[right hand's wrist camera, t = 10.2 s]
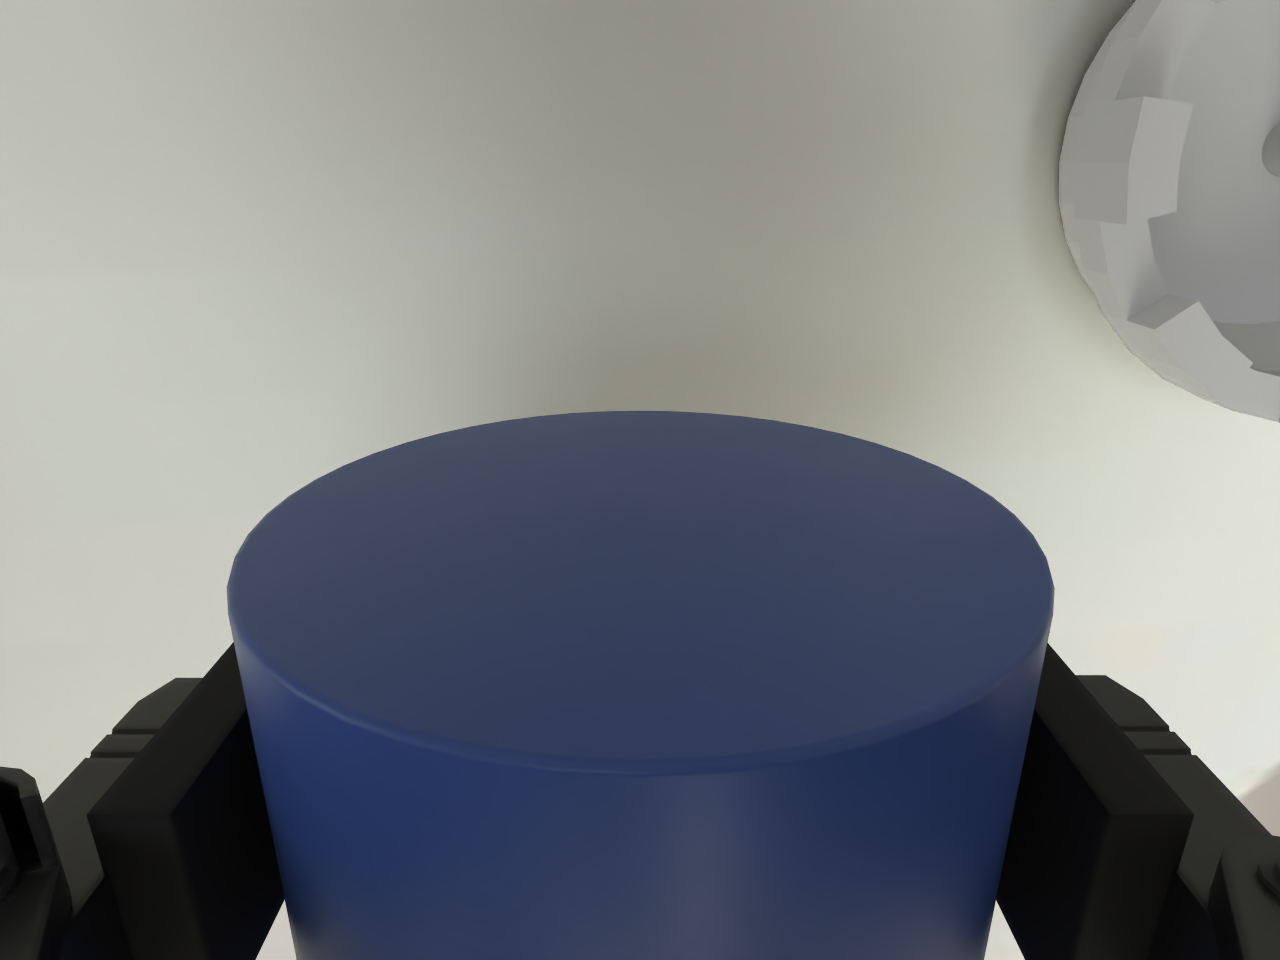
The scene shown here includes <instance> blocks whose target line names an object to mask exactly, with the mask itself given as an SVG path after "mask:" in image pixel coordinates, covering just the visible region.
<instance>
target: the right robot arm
mask: <svg viewBox="0 0 1280 960" xmlns="http://www.w3.org/2000/svg"><path fill="white" fill-rule="evenodd" d="M284 900H285V897H284V892H283V887H282V882H281V877H280V872H279V867H278V862H277V857H276V852H275V847H274V842H273V837H272V832H271V827H270V822H269V817H268V812H267V806H266V801H265V796H264V791H263V786H262V781H261V776H260V771H259V766H258V761H257V756H256V751H255V746H254V741H253V736H252V731H251V726H250V721H249V716H248V711H247V706H246V700H245V695H244V690H243V685H242V680H241V675H240V670H239V665H238V660H237V655H236V650H235V645H234V642H233V643H232V645H231V646H230V647H229V648H228V649H227V650H226V652H225V653H224V654H223V655H222V656H221V657H220V659H219V660H218V661H217V662H216V663H215V664H214V666H213V667H212V668H211V669H210V670H209V672H208V673H207V674H206V675H205V676H204V677H203V678H175V679H173V680H172V681H170V682H169V683H167V684H165V685H164V686H162V687H161V688H159V689H157V690H156V691H154V692H153V693H151V694H149V695H148V696H146V697H145V698H143V699H141V700H140V701H138V702H137V703H136V704H135V705H134V707H133V708H132V709H131V710H130V711H129V712H128V713H127V714H126V715H125V716H124V717H123V718H122V719H121V720H120V721H119V723H118V724H117V725H116V726H115V727H114V728H113V729H112V734H111V735H106V736H105V738H104V739H103V740H102V741H101V742H100V743H99V744H98V745H97V746H96V747H95V748H94V749H93V750H92V751H91V756H90V758H85V759H84V760H83V761H82V762H81V763H80V764H79V765H78V766H77V767H76V768H75V770H74V771H73V772H72V773H71V774H70V775H69V776H68V777H67V778H66V779H65V780H64V781H63V782H62V783H61V784H60V786H59V787H58V788H57V789H56V790H55V791H54V792H53V793H52V794H51V795H50V796H49V797H48V798H47V799H46V801H45V802H44V803H42V800H41V796H40V793H39V790H38V787H37V784H36V781H35V778H33V777H32V776H30V775H29V774H27V773H26V772H25V771H23V770H22V769H16V768H7V767H0V960H255V959H256V957H257V955H258V953H259V951H260V949H261V947H262V945H263V943H264V941H265V939H266V937H267V935H268V933H269V931H270V928H271V926H272V924H273V922H274V920H275V918H276V916H277V914H278V912H279V910H280V908H281V906H282V904H283V902H284ZM996 900H997V903H998V905H999V907H1000V909H1001V911H1002V913H1003V915H1004V917H1005V919H1006V921H1007V923H1008V925H1009V927H1010V929H1011V931H1012V933H1013V936H1014V938H1015V940H1016V942H1017V944H1018V946H1019V948H1020V950H1021V952H1022V954H1023V956H1024V958H1025V960H1280V837H1278V836H1272V835H1271V834H1270V833H1269V832H1268V831H1267V830H1266V829H1265V828H1264V827H1263V825H1262V824H1261V823H1260V822H1259V821H1258V820H1257V819H1256V818H1255V817H1254V816H1253V815H1252V814H1251V813H1250V812H1249V811H1248V810H1247V808H1246V807H1245V806H1244V805H1243V804H1242V803H1241V802H1240V801H1239V800H1238V799H1237V798H1236V797H1235V796H1234V795H1233V794H1232V793H1231V791H1230V790H1229V789H1228V788H1227V787H1226V786H1225V785H1224V784H1223V783H1222V782H1221V781H1220V780H1219V779H1218V778H1217V777H1216V776H1215V775H1214V773H1213V772H1212V771H1211V770H1210V769H1209V768H1208V767H1207V766H1206V765H1205V764H1204V763H1203V762H1202V761H1201V760H1200V759H1199V758H1198V756H1197V755H1192V754H1191V749H1190V748H1189V747H1188V746H1187V745H1186V744H1185V743H1184V742H1183V741H1182V740H1181V738H1180V737H1179V736H1178V735H1177V734H1176V733H1175V732H1170V731H1169V726H1168V725H1167V724H1166V723H1165V721H1164V720H1163V719H1162V718H1161V717H1160V716H1159V715H1158V714H1157V713H1156V712H1155V711H1154V710H1153V709H1152V708H1151V707H1150V706H1149V705H1148V703H1147V702H1146V701H1145V700H1144V699H1143V698H1141V697H1139V696H1138V695H1136V694H1135V693H1133V692H1131V691H1130V690H1128V689H1127V688H1125V687H1123V686H1122V685H1120V684H1118V683H1117V682H1115V681H1114V680H1112V679H1110V678H1109V677H1107V676H1106V675H1075V674H1074V673H1073V672H1072V671H1071V670H1070V668H1069V667H1068V666H1067V665H1066V664H1065V663H1064V661H1063V660H1062V659H1061V658H1060V657H1059V656H1058V654H1057V653H1056V652H1055V651H1054V650H1053V649H1052V647H1051V646H1050V645H1049V644H1048V643H1047V646H1046V651H1045V656H1044V661H1043V666H1042V671H1041V676H1040V681H1039V686H1038V691H1037V696H1036V701H1035V706H1034V711H1033V716H1032V721H1031V726H1030V731H1029V736H1028V741H1027V746H1026V751H1025V756H1024V761H1023V766H1022V771H1021V776H1020V781H1019V786H1018V791H1017V796H1016V801H1015V806H1014V811H1013V816H1012V821H1011V826H1010V831H1009V836H1008V841H1007V846H1006V851H1005V856H1004V861H1003V866H1002V871H1001V876H1000V881H999V886H998V891H997V896H996Z"/></svg>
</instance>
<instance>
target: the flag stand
mask: <svg viewBox="0 0 1280 960" xmlns="http://www.w3.org/2000/svg"><path fill="white" fill-rule="evenodd" d="M1059 207H1060V212H1061V217H1062V223H1063V228H1064V234H1065V239H1066V242H1067V245H1068V247H1069V249H1070V252H1071V254H1072V256H1073V259H1074V261H1075V264H1076V266H1077V268H1078V271H1079V273H1080V275H1081V276H1082V278H1083V279H1084V280H1085V282H1086V283H1087V284H1088V286H1089V287H1090V289H1091V290H1092V291H1093V293H1094V295H1095V298H1096V300H1097V303H1098V305H1099V307H1100V310H1101V312H1102V314H1103V315H1104V317H1105V318H1106V319H1107V321H1108V322H1109V324H1110V325H1111V326H1112V328H1113V329H1114V330H1115V332H1116V333H1117V335H1118V336H1119V337H1120V339H1121V340H1122V341H1123V343H1124V344H1125V346H1126V347H1127V348H1128V350H1129V351H1131V352H1132V353H1133V354H1134V355H1135V356H1136V357H1138V358H1139V359H1140V360H1141V361H1142V362H1144V363H1145V364H1146V365H1147V366H1148V367H1149V368H1151V369H1152V370H1153V371H1154V372H1155V373H1157V374H1158V375H1159V376H1160V377H1161V378H1163V379H1165V380H1167V381H1169V382H1171V383H1173V384H1175V385H1177V386H1179V387H1181V388H1183V389H1185V390H1187V391H1189V392H1191V393H1193V394H1195V395H1197V396H1199V397H1200V398H1203V399H1205V400H1207V401H1210V402H1212V403H1215V404H1217V405H1220V406H1222V407H1225V408H1227V409H1229V410H1232V411H1236V412H1240V413H1244V414H1248V415H1252V416H1256V417H1261V418H1265V419H1269V420H1273V421H1277V422H1280V0H1136V1H1135V2H1134V3H1133V4H1132V6H1131V7H1130V8H1129V9H1128V10H1127V12H1126V13H1125V14H1124V15H1123V17H1122V18H1121V19H1120V20H1119V21H1118V23H1117V24H1116V25H1115V26H1114V28H1113V29H1112V30H1111V31H1110V32H1109V34H1108V36H1107V37H1106V39H1105V41H1104V43H1103V44H1102V46H1101V48H1100V49H1099V51H1098V53H1097V55H1096V56H1095V58H1094V60H1093V61H1092V63H1091V65H1090V66H1089V68H1088V70H1087V72H1086V73H1085V75H1084V78H1083V80H1082V83H1081V86H1080V88H1079V91H1078V93H1077V96H1076V99H1075V101H1074V104H1073V106H1072V109H1071V112H1070V114H1069V117H1068V121H1067V126H1066V131H1065V136H1064V141H1063V146H1062V151H1061V156H1060V161H1059Z"/></svg>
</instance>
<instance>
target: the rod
mask: <svg viewBox="0 0 1280 960" xmlns="http://www.w3.org/2000/svg"><path fill="white" fill-rule="evenodd" d="M227 599H228V615H229V620H230V625H231V630H232V635H233V640H234V645H235V650H236V655H237V660H238V665H239V670H240V675H241V680H242V685H243V690H244V695H245V700H246V706H247V711H248V716H249V721H250V726H251V731H252V736H253V741H254V746H255V751H256V756H257V761H258V766H259V771H260V776H261V781H262V786H263V791H264V796H265V801H266V806H267V812H268V817H269V822H270V827H271V832H272V837H273V842H274V847H275V852H276V857H277V862H278V867H279V872H280V877H281V882H282V887H283V892H284V897H285V902H286V907H287V912H288V918H289V923H290V928H291V933H292V938H293V943H294V948H295V953H296V958H297V960H984V956H985V951H986V946H987V941H988V936H989V931H990V926H991V921H992V916H993V911H994V906H995V901H996V896H997V891H998V886H999V881H1000V876H1001V871H1002V866H1003V861H1004V856H1005V851H1006V846H1007V841H1008V836H1009V831H1010V826H1011V821H1012V816H1013V811H1014V806H1015V801H1016V796H1017V791H1018V786H1019V781H1020V776H1021V771H1022V766H1023V761H1024V756H1025V751H1026V746H1027V741H1028V736H1029V731H1030V726H1031V721H1032V716H1033V711H1034V706H1035V701H1036V696H1037V691H1038V686H1039V681H1040V676H1041V671H1042V666H1043V661H1044V656H1045V651H1046V646H1047V641H1048V636H1049V631H1050V626H1051V621H1052V616H1053V604H1054V585H1053V581H1052V577H1051V573H1050V570H1049V566H1048V562H1047V559H1046V556H1045V555H1044V553H1043V551H1042V550H1041V548H1040V546H1039V544H1038V543H1037V541H1036V539H1035V538H1034V536H1033V535H1032V533H1031V532H1030V531H1029V530H1028V529H1027V528H1026V527H1025V526H1024V525H1023V524H1022V522H1021V521H1020V520H1019V519H1018V518H1017V517H1016V516H1015V515H1014V514H1013V513H1012V512H1010V511H1009V510H1008V509H1007V508H1006V507H1004V506H1003V505H1002V504H1001V503H999V502H998V501H997V500H996V499H994V498H993V497H992V496H990V495H989V494H987V493H985V492H984V491H982V490H981V489H979V488H977V487H976V486H974V485H973V484H971V483H969V482H968V481H966V480H964V479H962V478H960V477H958V476H956V475H954V474H952V473H950V472H948V471H946V470H944V469H942V468H940V467H938V466H936V465H933V464H931V463H929V462H926V461H924V460H921V459H919V458H916V457H914V456H911V455H909V454H906V453H903V452H900V451H897V450H894V449H891V448H888V447H885V446H882V445H879V444H876V443H873V442H869V441H866V440H862V439H859V438H855V437H851V436H848V435H844V434H840V433H835V432H831V431H826V430H822V429H817V428H813V427H808V426H802V425H796V424H791V423H785V422H779V421H772V420H765V419H757V418H750V417H742V416H731V415H720V414H710V413H692V412H673V411H606V412H588V413H570V414H559V415H548V416H538V417H530V418H523V419H515V420H507V421H501V422H495V423H489V424H484V425H478V426H472V427H467V428H463V429H458V430H454V431H449V432H445V433H440V434H436V435H432V436H429V437H425V438H421V439H418V440H414V441H410V442H407V443H404V444H401V445H398V446H395V447H392V448H389V449H386V450H383V451H380V452H377V453H374V454H371V455H369V456H366V457H364V458H361V459H359V460H357V461H354V462H352V463H349V464H347V465H344V466H342V467H340V468H338V469H336V470H334V471H332V472H330V473H328V474H326V475H324V476H322V477H320V478H318V479H316V480H314V481H313V482H311V483H309V484H308V485H306V486H305V487H303V488H301V489H300V490H298V491H297V492H295V493H293V494H292V495H290V496H289V497H287V498H286V499H285V500H284V501H282V502H281V503H280V504H279V505H277V506H276V507H275V508H274V509H273V510H271V511H270V512H269V513H268V514H266V515H265V517H264V518H263V519H262V520H261V521H260V522H259V523H258V524H257V525H256V526H255V528H254V529H253V530H252V531H251V532H250V533H249V534H248V536H247V537H246V539H245V541H244V543H243V544H242V546H241V548H240V549H239V551H238V553H237V555H236V556H235V559H234V562H233V566H232V570H231V574H230V577H229V581H228V585H227Z"/></svg>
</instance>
